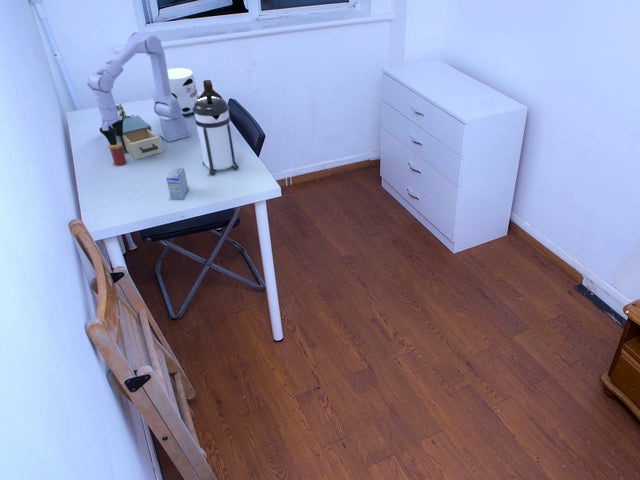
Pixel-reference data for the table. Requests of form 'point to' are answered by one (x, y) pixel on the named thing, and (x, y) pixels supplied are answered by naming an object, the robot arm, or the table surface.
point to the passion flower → (122, 111)
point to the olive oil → (209, 90)
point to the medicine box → (177, 183)
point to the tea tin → (118, 154)
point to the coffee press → (215, 133)
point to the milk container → (183, 88)
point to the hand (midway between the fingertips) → (116, 140)
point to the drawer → (142, 143)
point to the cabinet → (132, 127)
